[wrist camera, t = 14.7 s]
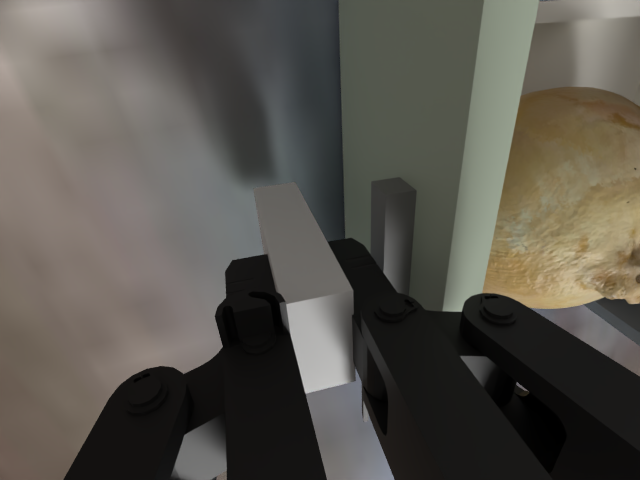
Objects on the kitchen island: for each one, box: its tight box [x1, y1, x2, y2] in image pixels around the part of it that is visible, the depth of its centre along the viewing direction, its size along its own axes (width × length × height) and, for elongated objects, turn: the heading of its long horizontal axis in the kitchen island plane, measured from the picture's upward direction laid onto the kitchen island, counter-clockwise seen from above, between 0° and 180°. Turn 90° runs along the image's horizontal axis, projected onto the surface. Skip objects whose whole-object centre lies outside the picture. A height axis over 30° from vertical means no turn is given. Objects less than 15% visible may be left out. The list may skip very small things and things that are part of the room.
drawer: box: [338, 0, 640, 312], centre depth 13 cm, size 14×16×8 cm
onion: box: [482, 87, 640, 309], centre depth 13 cm, size 8×8×7 cm
